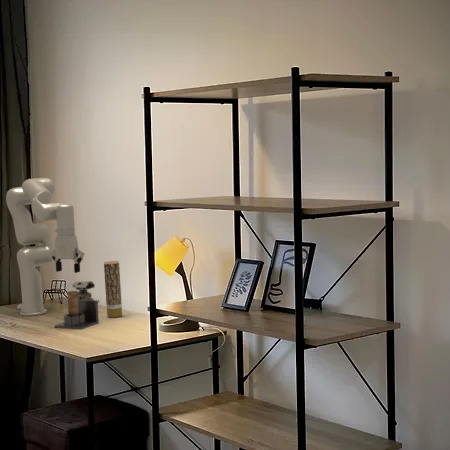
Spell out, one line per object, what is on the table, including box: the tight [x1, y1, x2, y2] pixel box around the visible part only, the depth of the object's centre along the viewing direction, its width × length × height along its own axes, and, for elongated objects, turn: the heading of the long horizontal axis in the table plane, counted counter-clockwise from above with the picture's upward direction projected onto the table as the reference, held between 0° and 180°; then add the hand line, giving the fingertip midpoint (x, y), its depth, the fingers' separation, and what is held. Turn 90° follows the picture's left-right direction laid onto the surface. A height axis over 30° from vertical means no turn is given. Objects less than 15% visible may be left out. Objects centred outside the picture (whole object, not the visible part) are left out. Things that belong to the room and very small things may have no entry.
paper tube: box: [103, 260, 123, 319], centre depth 372 cm, size 7×7×25 cm
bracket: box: [53, 299, 99, 330], centre depth 357 cm, size 13×14×10 cm
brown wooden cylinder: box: [66, 290, 79, 316], centre depth 356 cm, size 4×4×14 cm
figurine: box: [71, 280, 100, 304], centre depth 385 cm, size 9×12×15 cm
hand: (68, 271), depth 358 cm, fingers open, 9 cm apart
